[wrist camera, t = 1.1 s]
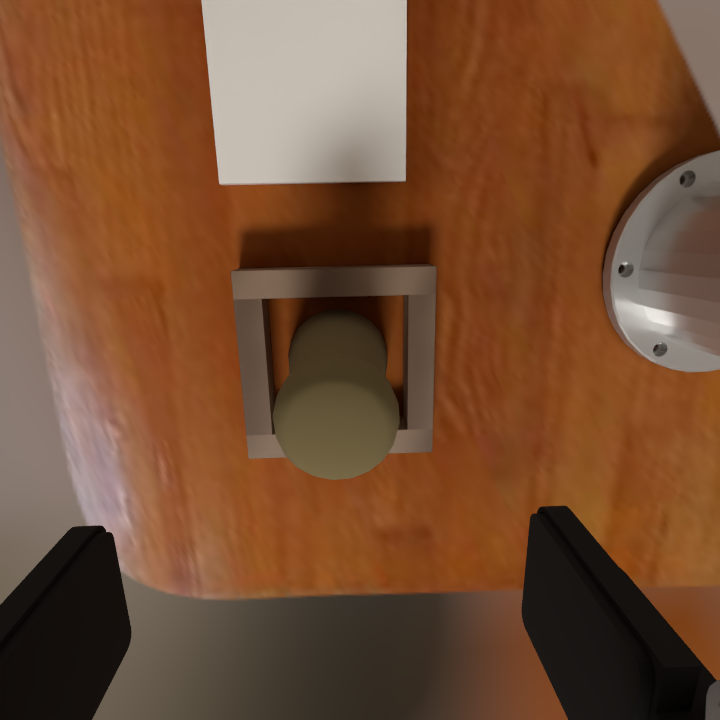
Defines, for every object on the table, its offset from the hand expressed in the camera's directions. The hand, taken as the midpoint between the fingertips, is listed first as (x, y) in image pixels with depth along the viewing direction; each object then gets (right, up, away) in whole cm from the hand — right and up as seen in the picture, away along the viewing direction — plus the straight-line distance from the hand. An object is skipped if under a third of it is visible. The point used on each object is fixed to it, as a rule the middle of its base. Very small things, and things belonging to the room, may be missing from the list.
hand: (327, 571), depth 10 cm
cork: (-1, +5, +18) cm, 18 cm away
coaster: (-2, +19, +14) cm, 24 cm away
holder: (-1, +5, +18) cm, 18 cm away
